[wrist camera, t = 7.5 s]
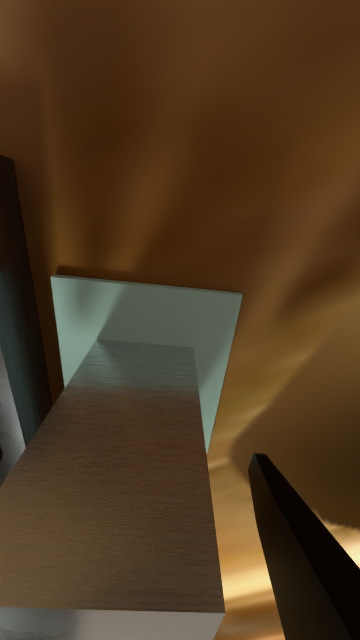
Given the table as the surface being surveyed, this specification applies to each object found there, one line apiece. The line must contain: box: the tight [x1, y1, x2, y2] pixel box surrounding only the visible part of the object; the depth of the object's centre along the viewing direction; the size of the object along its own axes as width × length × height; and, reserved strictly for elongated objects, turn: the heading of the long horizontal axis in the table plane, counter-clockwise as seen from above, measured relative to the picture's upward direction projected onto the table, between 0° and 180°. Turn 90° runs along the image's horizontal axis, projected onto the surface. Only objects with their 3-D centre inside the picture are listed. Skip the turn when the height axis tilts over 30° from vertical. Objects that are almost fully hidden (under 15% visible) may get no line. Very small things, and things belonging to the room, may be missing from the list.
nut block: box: [0, 339, 225, 640], centre depth 8 cm, size 4×4×8 cm
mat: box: [50, 275, 243, 453], centre depth 12 cm, size 10×8×1 cm
